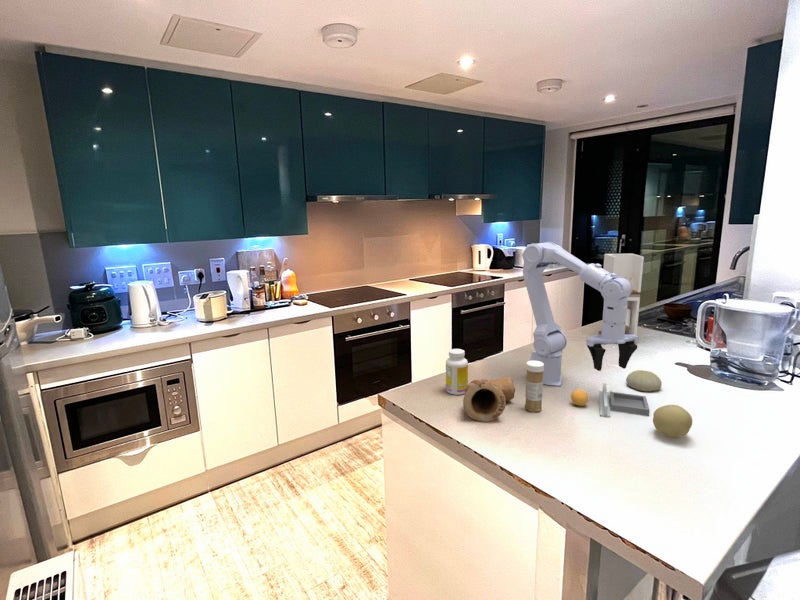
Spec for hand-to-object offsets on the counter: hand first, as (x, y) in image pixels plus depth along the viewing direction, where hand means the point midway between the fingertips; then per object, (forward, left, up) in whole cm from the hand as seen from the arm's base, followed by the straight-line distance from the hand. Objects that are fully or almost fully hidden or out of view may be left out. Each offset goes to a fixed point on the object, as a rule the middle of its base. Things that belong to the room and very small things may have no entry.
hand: (609, 368), depth 119 cm
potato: (+13, -16, -10) cm, 23 cm away
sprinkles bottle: (-19, -13, -10) cm, 25 cm away
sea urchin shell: (+10, +14, -10) cm, 20 cm away
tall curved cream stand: (+5, +63, -10) cm, 64 cm away
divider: (-1, -3, -10) cm, 10 cm away
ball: (-7, -6, -7) cm, 12 cm away
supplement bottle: (-42, -9, -10) cm, 44 cm away
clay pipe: (-30, -18, -10) cm, 36 cm away
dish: (+5, -2, -10) cm, 11 cm away
